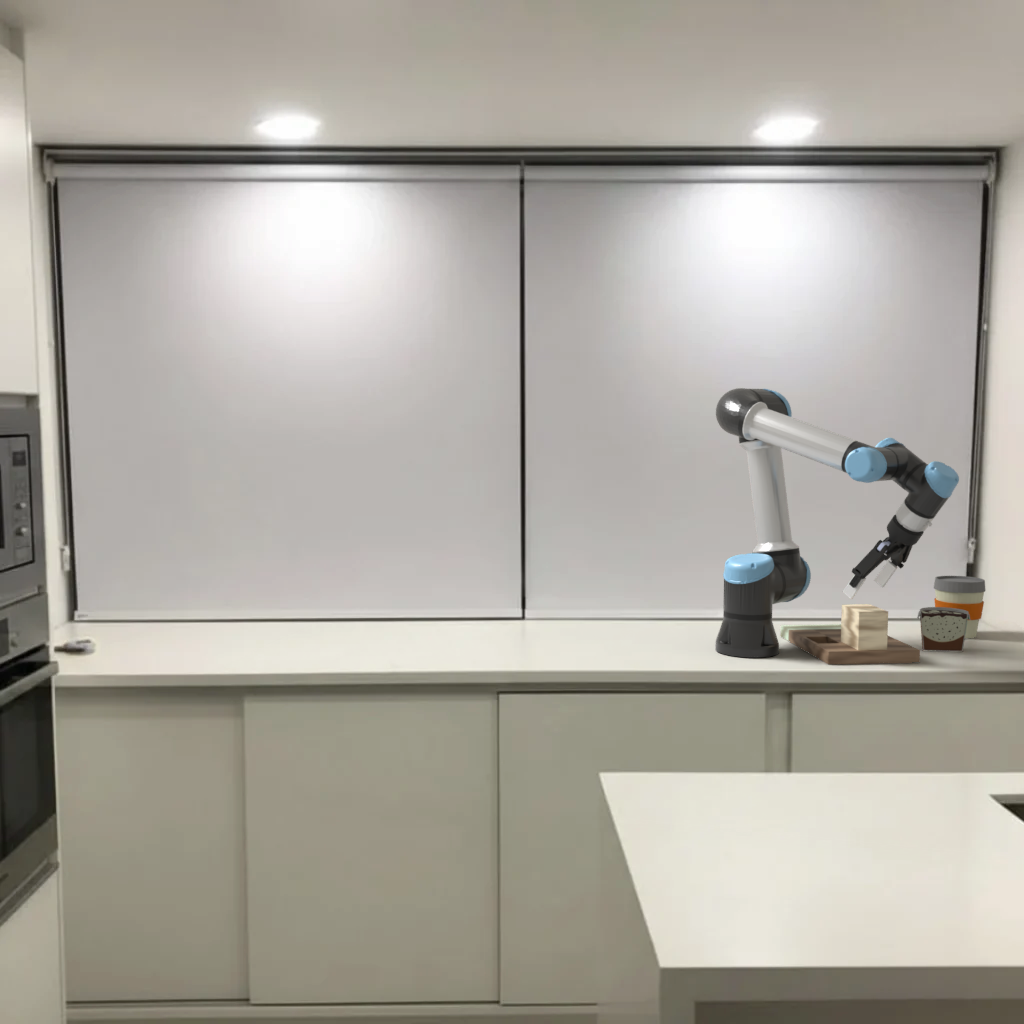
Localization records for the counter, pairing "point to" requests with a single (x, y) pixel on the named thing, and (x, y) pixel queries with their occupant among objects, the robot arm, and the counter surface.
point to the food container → (943, 628)
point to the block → (864, 627)
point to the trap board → (845, 646)
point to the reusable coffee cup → (961, 597)
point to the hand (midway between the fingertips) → (863, 589)
